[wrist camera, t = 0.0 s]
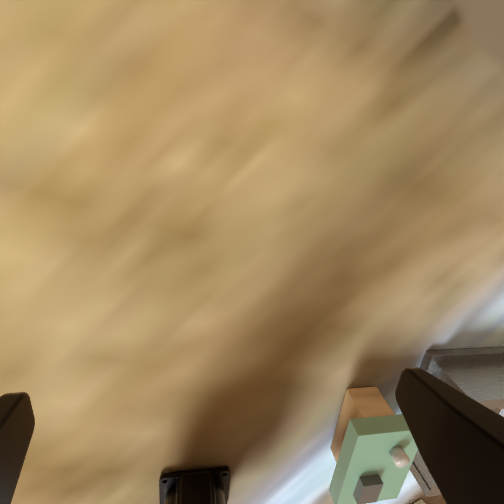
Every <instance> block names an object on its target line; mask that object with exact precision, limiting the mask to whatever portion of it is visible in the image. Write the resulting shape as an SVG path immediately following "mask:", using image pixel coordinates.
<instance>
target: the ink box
mask: <svg viewBox="0 0 504 504" xmlns="http://www.w3.org/2000/svg"><path fill="white" fill-rule="evenodd" d="M414 504H426V503H425V502H424V501H423V500H422V499H420V500H418V501H417V502H415V503H414Z"/></svg>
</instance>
